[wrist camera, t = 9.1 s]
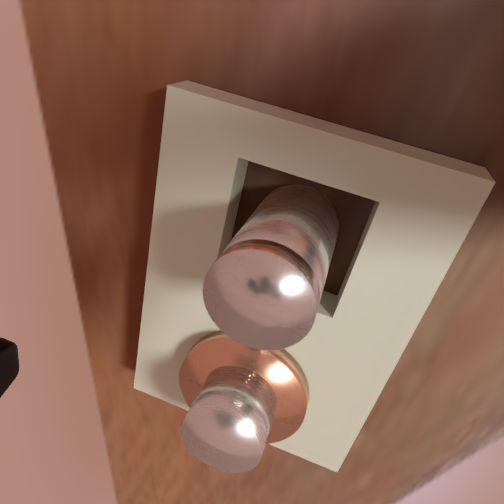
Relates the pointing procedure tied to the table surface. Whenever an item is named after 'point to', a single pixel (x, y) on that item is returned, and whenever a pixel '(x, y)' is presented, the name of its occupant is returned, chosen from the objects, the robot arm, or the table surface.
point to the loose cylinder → (274, 270)
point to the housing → (331, 306)
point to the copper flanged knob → (239, 401)
